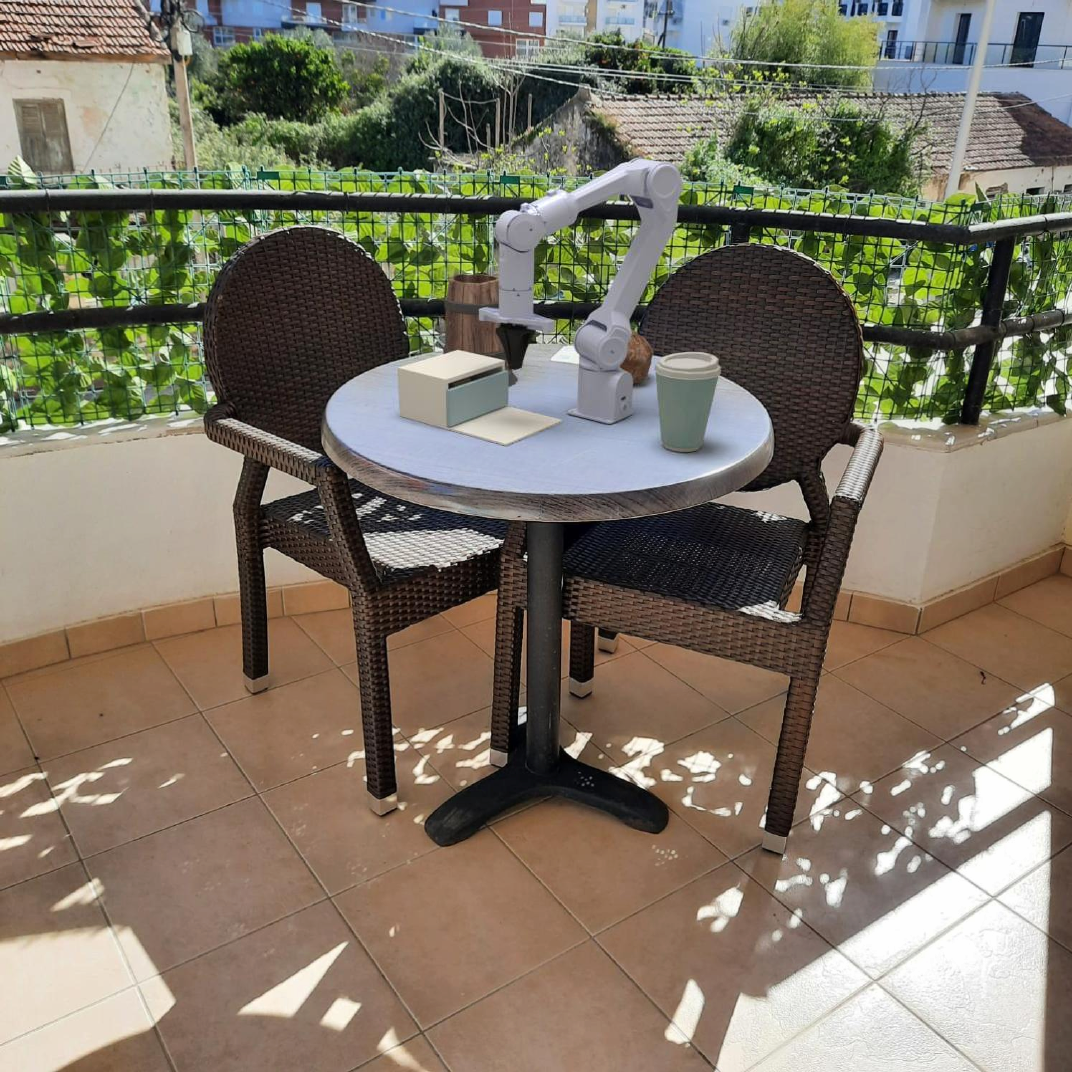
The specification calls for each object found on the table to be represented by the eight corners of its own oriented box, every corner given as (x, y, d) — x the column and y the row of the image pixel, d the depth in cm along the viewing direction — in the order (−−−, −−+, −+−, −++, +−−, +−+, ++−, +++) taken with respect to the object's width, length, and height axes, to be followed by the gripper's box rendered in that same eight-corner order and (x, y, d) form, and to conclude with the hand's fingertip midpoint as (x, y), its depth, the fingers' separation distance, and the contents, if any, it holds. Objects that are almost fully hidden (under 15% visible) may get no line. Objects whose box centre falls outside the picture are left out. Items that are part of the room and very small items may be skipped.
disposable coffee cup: (669, 460, 155) (677, 369, 148) (636, 439, 164) (642, 351, 157) (725, 452, 159) (735, 362, 152) (690, 431, 168) (698, 346, 161)
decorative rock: (598, 369, 202) (601, 321, 198) (652, 372, 201) (656, 324, 197) (592, 387, 191) (595, 336, 186) (649, 390, 189) (653, 340, 185)
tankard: (486, 396, 183) (486, 290, 175) (416, 381, 191) (413, 278, 183) (550, 369, 201) (553, 271, 193) (484, 356, 209) (484, 262, 201)
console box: (562, 422, 171) (563, 373, 167) (506, 446, 159) (506, 394, 155) (458, 395, 183) (457, 349, 180) (399, 416, 172) (397, 367, 168)
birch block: (470, 405, 174) (470, 378, 172) (454, 411, 171) (454, 384, 169) (451, 400, 177) (451, 373, 174) (435, 406, 173) (434, 379, 171)
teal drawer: (508, 404, 177) (508, 371, 174) (450, 426, 165) (449, 390, 162) (462, 392, 183) (461, 360, 180) (403, 413, 171) (401, 378, 168)
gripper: (466, 285, 160) (467, 365, 166) (537, 297, 153) (535, 381, 158) (493, 279, 165) (493, 357, 171) (562, 291, 158) (560, 372, 163)
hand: (515, 368), depth 165 cm, fingers closed
